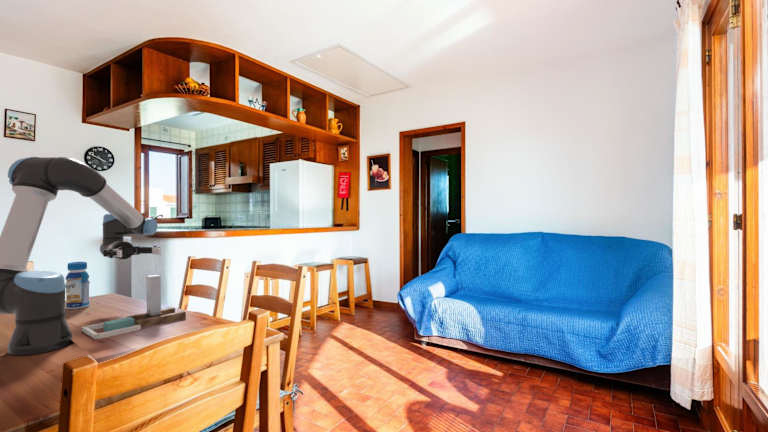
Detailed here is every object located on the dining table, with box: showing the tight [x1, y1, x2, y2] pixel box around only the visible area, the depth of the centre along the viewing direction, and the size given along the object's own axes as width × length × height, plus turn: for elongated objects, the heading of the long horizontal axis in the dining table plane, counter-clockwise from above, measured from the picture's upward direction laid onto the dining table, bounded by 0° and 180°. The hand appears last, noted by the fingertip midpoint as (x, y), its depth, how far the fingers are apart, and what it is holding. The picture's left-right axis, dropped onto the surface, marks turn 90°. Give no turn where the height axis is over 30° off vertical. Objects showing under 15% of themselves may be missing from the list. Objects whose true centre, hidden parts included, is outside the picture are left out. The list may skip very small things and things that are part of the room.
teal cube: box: [103, 318, 121, 332], centre depth 130 cm, size 4×4×4 cm
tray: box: [81, 322, 142, 340], centre depth 130 cm, size 13×14×3 cm
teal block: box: [116, 316, 134, 329], centre depth 134 cm, size 4×4×4 cm
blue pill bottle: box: [65, 261, 91, 310], centre depth 169 cm, size 8×8×20 cm
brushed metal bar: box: [145, 274, 162, 319], centre depth 141 cm, size 4×6×17 cm, turn 53°
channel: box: [126, 306, 187, 329], centre depth 142 cm, size 16×11×4 cm
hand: (141, 252), depth 149 cm, fingers open, 13 cm apart
